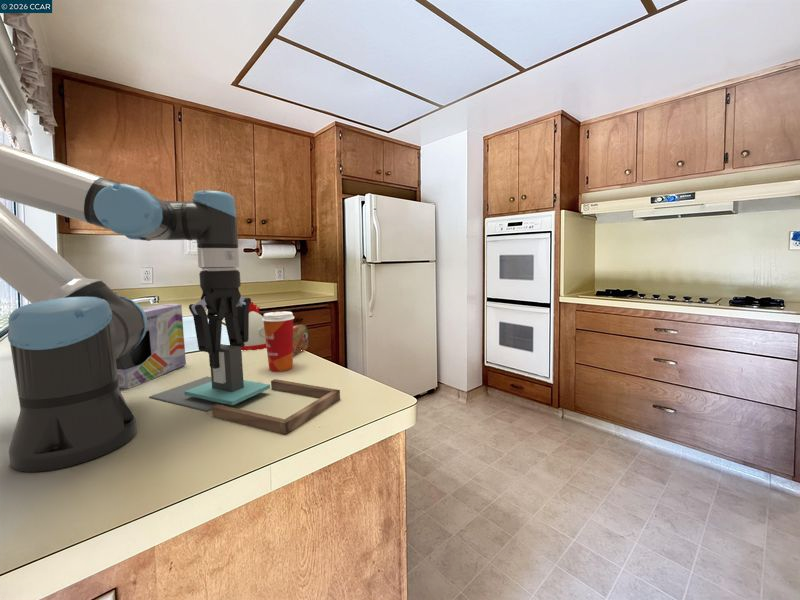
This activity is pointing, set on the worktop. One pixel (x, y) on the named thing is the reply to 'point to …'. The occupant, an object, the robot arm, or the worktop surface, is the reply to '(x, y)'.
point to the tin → (300, 339)
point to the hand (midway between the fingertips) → (227, 379)
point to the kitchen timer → (255, 330)
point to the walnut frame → (278, 424)
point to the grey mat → (179, 398)
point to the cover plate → (227, 395)
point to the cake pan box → (154, 347)
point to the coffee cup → (279, 340)
